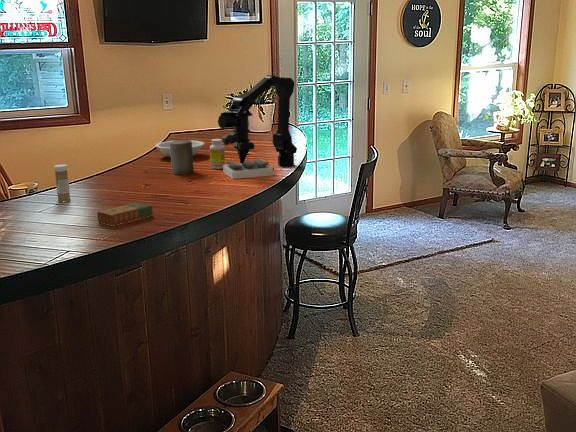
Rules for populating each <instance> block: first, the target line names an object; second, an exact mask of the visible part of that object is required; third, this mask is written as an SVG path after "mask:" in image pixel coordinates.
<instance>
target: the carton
mask: <svg viewBox="0 0 576 432" xmlns="http://www.w3.org/2000/svg"><path fill="white" fill-rule="evenodd" d="M151 215H153V216H154V211H153V206H152V204H151V205H150V204H146V203H144V202H143V203H142V202H133V203H129V204H124V205H121V206H116V207H112V208H107V209H104V210H99V211H97V221H98V222H102V223H105V224H109V225H117V224H120V223H124V222H128V221H131V220H135V219H139V218H143V217H147V216H151ZM105 224H104V225H105Z"/></svg>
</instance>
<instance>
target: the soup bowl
mask: <svg viewBox="0 0 576 432" xmlns="http://www.w3.org/2000/svg"><path fill="white" fill-rule="evenodd" d="M189 140H190V139H189ZM172 141H173V140H169V141H163V142H159V143H156V144H155V147H156V148H158V149H159V151H160V152H161V153H162V154H163V155H165V156H166V157H169V158H171V153H170V142H172ZM190 141H192V153H193V156H194V155H196V154H197V153H198V152H199V151H200V150H201V149H202V147H203V146H204V145H205V141H204V142H203V141H200V140H190Z"/></svg>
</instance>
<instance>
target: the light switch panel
mask: <svg viewBox="0 0 576 432" xmlns="http://www.w3.org/2000/svg"><path fill="white" fill-rule="evenodd" d="M239 164H240V165H241V166H242V169H236V168H233V167H231V166H230V165H228V164H225V165H223V168H222V171H223V173H224V174H225V175H227V176H228V177H229V178H231V179H232V180H235V179H244V178H246V179H247V178H257V177H258V178H259V177H268V176H274V171H275V167H271V166H270V165H266V167H259V166H257V165H256V164H255V165H256V167H252V168H249V167H245V166H244V165H242V164H241V163H239Z"/></svg>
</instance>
